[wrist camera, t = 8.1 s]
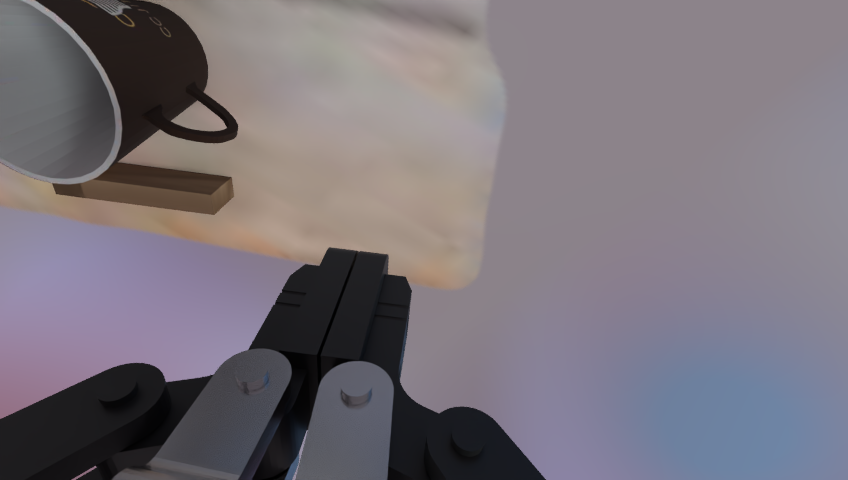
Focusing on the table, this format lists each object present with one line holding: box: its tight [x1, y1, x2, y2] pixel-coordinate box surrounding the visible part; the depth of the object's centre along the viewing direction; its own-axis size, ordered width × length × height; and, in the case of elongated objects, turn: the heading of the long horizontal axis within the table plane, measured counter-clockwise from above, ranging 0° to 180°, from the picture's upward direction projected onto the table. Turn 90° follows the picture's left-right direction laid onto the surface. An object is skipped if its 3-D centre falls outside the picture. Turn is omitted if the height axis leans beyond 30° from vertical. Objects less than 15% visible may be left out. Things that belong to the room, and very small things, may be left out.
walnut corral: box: [52, 163, 234, 215], centre depth 27 cm, size 16×11×3 cm
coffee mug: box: [0, 0, 238, 184], centre depth 24 cm, size 12×9×10 cm
